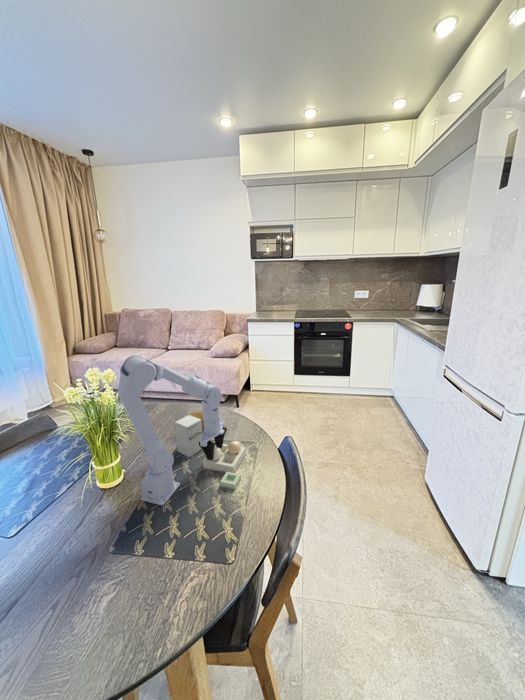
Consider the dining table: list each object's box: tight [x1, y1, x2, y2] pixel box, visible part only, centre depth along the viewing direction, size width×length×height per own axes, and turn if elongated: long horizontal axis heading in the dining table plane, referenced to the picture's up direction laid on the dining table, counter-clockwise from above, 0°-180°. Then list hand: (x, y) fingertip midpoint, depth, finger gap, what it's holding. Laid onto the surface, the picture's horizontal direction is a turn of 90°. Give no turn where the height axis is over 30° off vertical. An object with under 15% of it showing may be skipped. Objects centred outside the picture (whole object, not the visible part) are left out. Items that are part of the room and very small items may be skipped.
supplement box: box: [173, 414, 203, 458], centre depth 114 cm, size 7×7×13 cm
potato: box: [188, 410, 204, 432], centre depth 129 cm, size 10×14×8 cm
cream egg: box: [212, 447, 222, 461], centre depth 105 cm, size 5×5×5 cm
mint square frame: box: [219, 472, 242, 491], centre depth 96 cm, size 5×5×2 cm
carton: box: [202, 443, 247, 473], centre depth 107 cm, size 12×12×3 cm
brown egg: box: [227, 440, 242, 455], centre depth 108 cm, size 5×5×5 cm
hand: (214, 453), depth 105 cm, fingers open, 7 cm apart
